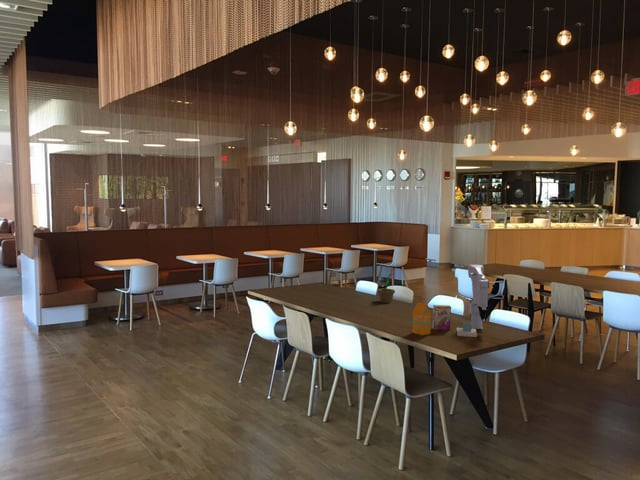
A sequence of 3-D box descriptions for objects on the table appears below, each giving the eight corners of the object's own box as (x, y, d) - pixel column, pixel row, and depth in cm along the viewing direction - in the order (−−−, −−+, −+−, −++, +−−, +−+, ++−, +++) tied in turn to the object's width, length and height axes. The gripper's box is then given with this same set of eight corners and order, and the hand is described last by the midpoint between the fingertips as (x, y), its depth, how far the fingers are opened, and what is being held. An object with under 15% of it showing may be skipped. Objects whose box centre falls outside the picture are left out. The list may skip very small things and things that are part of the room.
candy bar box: (433, 330, 351) (434, 306, 350) (432, 328, 356) (432, 304, 354) (450, 330, 351) (451, 306, 350) (448, 328, 356) (449, 304, 355)
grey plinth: (456, 332, 350) (456, 327, 349) (475, 333, 347) (475, 328, 347) (457, 336, 338) (457, 332, 338) (476, 337, 335) (477, 333, 335)
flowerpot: (394, 303, 439) (395, 268, 437) (377, 303, 441) (378, 267, 439) (394, 300, 453) (395, 266, 451) (377, 299, 455) (378, 265, 453)
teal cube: (462, 329, 345) (463, 321, 345) (470, 329, 344) (471, 322, 344) (463, 331, 340) (463, 323, 340) (471, 331, 339) (471, 324, 339)
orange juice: (422, 335, 337) (423, 305, 335) (412, 332, 344) (413, 302, 342) (430, 333, 341) (431, 303, 340) (420, 331, 348) (421, 301, 347)
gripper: (475, 295, 351) (475, 315, 352) (477, 299, 337) (476, 320, 338) (486, 296, 350) (485, 316, 351) (489, 300, 336) (488, 321, 337)
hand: (482, 318), depth 345 cm, fingers open, 7 cm apart
